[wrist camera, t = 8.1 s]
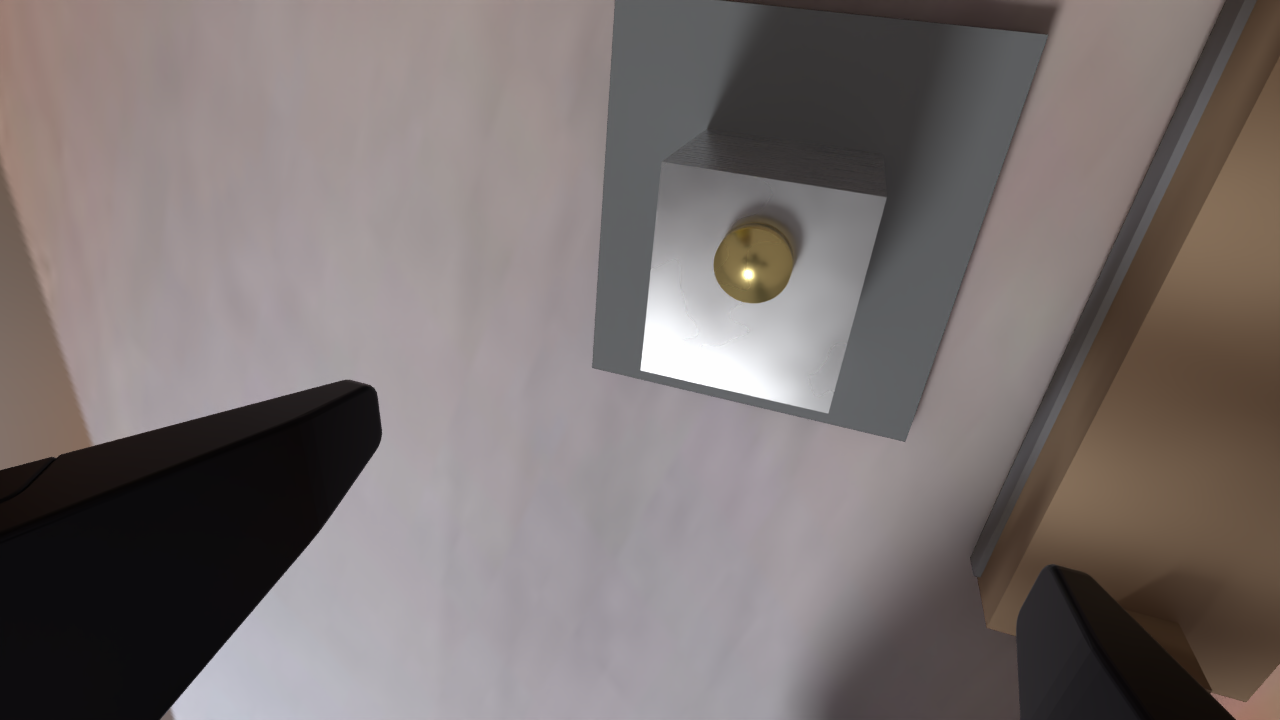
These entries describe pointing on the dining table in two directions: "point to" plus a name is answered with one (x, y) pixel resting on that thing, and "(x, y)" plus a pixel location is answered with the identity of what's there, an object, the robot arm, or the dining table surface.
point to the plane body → (1173, 392)
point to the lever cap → (760, 264)
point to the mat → (826, 115)
